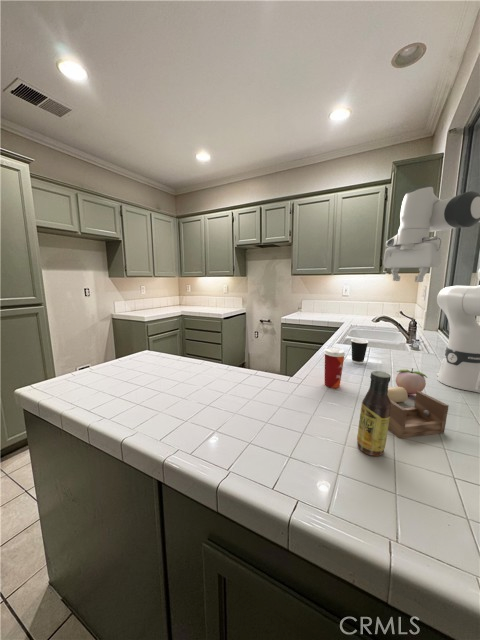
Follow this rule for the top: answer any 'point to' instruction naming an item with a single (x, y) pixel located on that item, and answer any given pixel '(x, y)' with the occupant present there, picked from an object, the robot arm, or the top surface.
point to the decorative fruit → (411, 381)
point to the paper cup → (333, 366)
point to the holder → (418, 417)
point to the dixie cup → (358, 350)
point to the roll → (397, 394)
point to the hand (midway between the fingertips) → (406, 281)
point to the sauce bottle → (375, 415)
